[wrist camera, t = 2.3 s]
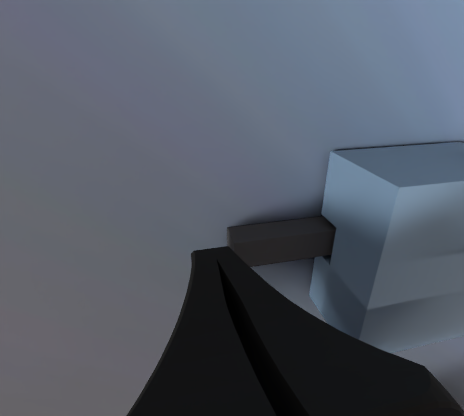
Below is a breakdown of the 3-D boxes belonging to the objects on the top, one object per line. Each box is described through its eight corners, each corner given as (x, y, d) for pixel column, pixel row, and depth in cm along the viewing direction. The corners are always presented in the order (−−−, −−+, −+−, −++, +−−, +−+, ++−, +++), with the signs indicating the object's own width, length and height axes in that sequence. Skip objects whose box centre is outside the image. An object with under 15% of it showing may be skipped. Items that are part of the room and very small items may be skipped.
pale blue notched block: (413, 276, 16) (479, 332, 13) (309, 295, 15) (352, 361, 12) (459, 141, 13) (562, 170, 10) (330, 151, 12) (399, 187, 8)
